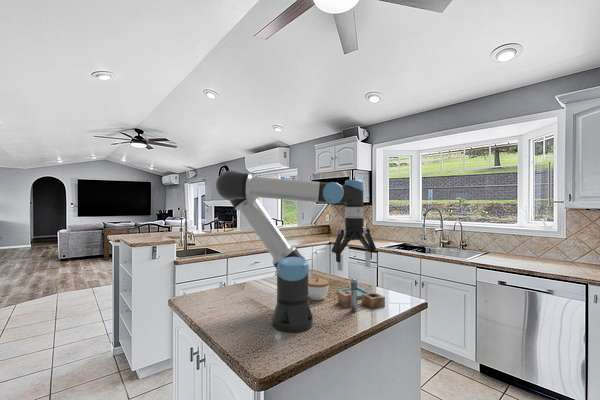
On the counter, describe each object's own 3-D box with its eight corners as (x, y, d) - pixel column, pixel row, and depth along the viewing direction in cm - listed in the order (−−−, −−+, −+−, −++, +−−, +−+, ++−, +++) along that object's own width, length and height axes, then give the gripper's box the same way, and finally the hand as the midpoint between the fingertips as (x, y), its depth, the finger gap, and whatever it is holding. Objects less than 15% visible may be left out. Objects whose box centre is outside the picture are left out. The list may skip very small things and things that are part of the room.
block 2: (371, 308, 123) (371, 298, 123) (361, 303, 129) (361, 294, 129) (384, 306, 125) (384, 296, 125) (374, 301, 132) (374, 292, 132)
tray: (350, 300, 133) (350, 296, 133) (337, 292, 144) (337, 289, 144) (372, 297, 137) (372, 293, 137) (358, 289, 148) (358, 286, 148)
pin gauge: (352, 312, 118) (352, 280, 118) (349, 310, 120) (349, 278, 120) (358, 311, 119) (358, 279, 119) (354, 309, 121) (354, 278, 121)
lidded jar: (328, 294, 140) (328, 275, 140) (328, 302, 130) (328, 281, 130) (306, 294, 141) (306, 274, 141) (304, 301, 131) (304, 280, 131)
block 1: (345, 307, 124) (345, 295, 124) (338, 302, 129) (338, 291, 130) (357, 305, 126) (357, 293, 126) (349, 301, 132) (349, 290, 132)
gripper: (332, 218, 112) (332, 273, 112) (384, 217, 121) (384, 267, 121) (323, 217, 119) (323, 269, 118) (373, 216, 128) (373, 264, 128)
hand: (354, 268), depth 120 cm, fingers open, 13 cm apart
